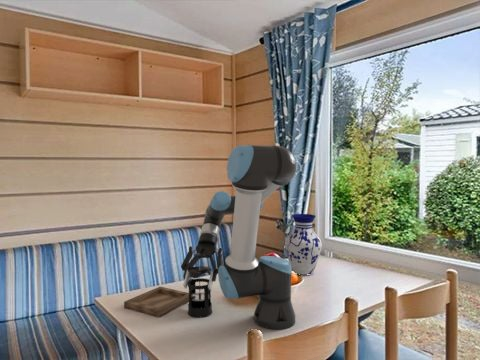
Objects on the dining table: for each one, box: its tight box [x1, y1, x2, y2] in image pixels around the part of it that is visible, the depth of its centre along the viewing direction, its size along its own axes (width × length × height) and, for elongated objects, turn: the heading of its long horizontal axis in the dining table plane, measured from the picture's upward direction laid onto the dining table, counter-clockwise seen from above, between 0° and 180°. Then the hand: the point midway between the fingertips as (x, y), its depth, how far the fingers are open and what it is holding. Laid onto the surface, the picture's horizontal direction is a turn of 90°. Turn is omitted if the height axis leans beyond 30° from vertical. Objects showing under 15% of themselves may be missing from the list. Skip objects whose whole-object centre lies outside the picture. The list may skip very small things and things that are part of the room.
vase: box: [284, 213, 323, 276], centre depth 201 cm, size 19×19×30 cm
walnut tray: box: [123, 286, 189, 318], centre depth 158 cm, size 18×21×2 cm
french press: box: [187, 252, 213, 319], centre depth 148 cm, size 12×9×23 cm
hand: (197, 287), depth 145 cm, fingers closed on french press, 9 cm apart
